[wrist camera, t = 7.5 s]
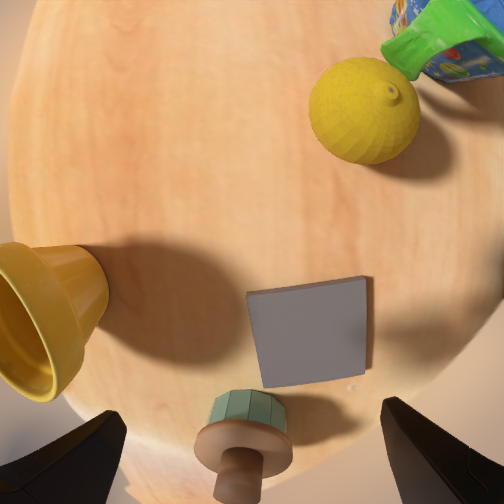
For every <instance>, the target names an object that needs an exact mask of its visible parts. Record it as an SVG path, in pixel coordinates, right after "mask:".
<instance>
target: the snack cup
mask: <svg viewBox="0 0 504 504" xmlns="http://www.w3.org/2000/svg"><path fill="white" fill-rule="evenodd" d="M390 24H391V26H392V31H393V34H394V36H395V37H394V38H392V39H391V40H388V41H386V42H385V43H382V45H381V49H380V51H381V52H382V54H383V56H384V58H385V59H386V61H387V62H388V63H389V64H391V65H392V66H393V67H395V68H396V69H398V70H399V71H400V72H401V73H402V74H403V75H404V76H405V77H406V78H407V79H408V80H409V81H416V80H417V79H418V77H419V75H420V73H421V71H422V70H423V71H424V72H425V73H427V74H429V75H430V76H432V77H434V78H436V79H440V80H443V81H445V82H446V83H456V82H463V81H470V80H476V79H481V78H491V77H498V76H504V0H396V2H395V4H394V6H393V9H392V15H391V18H390Z"/></svg>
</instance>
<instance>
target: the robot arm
mask: <svg viewBox="0 0 504 504" xmlns="http://www.w3.org/2000/svg"><path fill="white" fill-rule="evenodd" d="M380 420H381V426H382V430H383V435H384V440H385V444H386V450H387V455H388V459H389V462H390V466H391V468H392V472H393V475H394V477H395V481H396V484H397V487H398V490H399V493H400V496H401V499H402V503H403V504H504V466H502V465H500V464H498V463H496V462H494V461H492V460H490V459H488V458H486V457H485V456H483V455H481V454H480V453H478V452H477V451H475V450H474V449H472V448H469V446H467V445H466V444H464V443H463V442H461V441H459V440H458V439H457V438H455V437H454V436H452V435H451V434H449V433H448V432H447V431H445V430H444V429H442V428H441V427H439V426H438V425H436V424H435V423H433V422H432V421H430V420H429V419H428V418H426V417H425V416H423V415H422V414H421V413H419V412H417V411H416V410H415V409H413V408H412V407H411V406H409V405H408V404H406V403H405V402H404V401H402V400H401V399H399V398H398V397H396V396H394V397H390V398H386V399H384V400H383V403H382V409H381V415H380ZM126 433H127V427H126V425H125V423H124V422H123V420H122V418H121V416H120V415H119V413H118V412H116V411H112V410H106V411H105V412H103V413H101V414H100V415H98V416H96V417H95V418H93V419H91V420H90V421H88V422H86V423H85V424H83V425H81V426H79V427H78V428H76V429H74V430H72V431H71V432H69V433H68V434H65V435H64V436H62V437H60V438H58V439H57V440H55V441H53V442H51V443H49V444H47V445H46V446H44V447H42V448H40V449H39V450H37V451H34V452H33V453H31V454H29V455H27V456H24V457H22V458H20V459H18V460H15V461H13V462H10V463H8V464H5V465H2V466H0V504H106V501H107V498H108V495H109V492H110V489H111V486H112V483H113V480H114V477H115V474H116V471H117V468H118V465H119V462H120V458H121V454H122V450H123V445H124V441H125V437H126Z"/></svg>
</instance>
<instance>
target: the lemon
mask: <svg viewBox="0 0 504 504" xmlns="http://www.w3.org/2000/svg"><path fill="white" fill-rule="evenodd" d="M420 112H421V111H420V105H419V100H418V97H417V94H416V92H415V90H414V88H413V86H412V85H411V83H410V82H409V80H408V79H407V78H406V77H405V76H404V75H403V74H402V73H401V72H400V71H399V70H398V69H396V68H395V67H393V66H392V65H390V64H388V63H386V62H383V61H381V60H378V59H374V58H367V57H360V58H350V59H347V60H345V61H342V62H340V63H337V64H335V65H334V66H332V67H331V68H330V69H329V70H327V71H326V72H325V73H324V74H323V75H322V76H321V77H320V79H319V80H318V82H317V83H316V85H315V86H314V88H313V91H312V94H311V97H310V101H309V117H310V121H311V125H312V129H313V131H314V133H315V135H316V137H317V139H318V140H319V141H320V142H321V144H322V145H323V146H324V147H325V148H326V149H327V150H328V151H329V152H331V153H332V154H333V155H335V156H336V157H338V158H340V159H343V160H345V161H347V162H350V163H355V164H360V165H369V164H379V163H382V162H385V161H387V160H390V159H392V158H394V157H396V156H397V155H398V154H400V153H401V152H402V151H404V150H405V149H406V148H407V147H408V145H409V144H410V143H411V141H412V140H413V138H414V137H415V135H416V132H417V130H418V127H419V124H420Z"/></svg>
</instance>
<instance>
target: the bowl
mask: <svg viewBox="0 0 504 504" xmlns="http://www.w3.org/2000/svg"><path fill="white" fill-rule="evenodd" d="M232 419H242V420H251V421H257V422H261V423H264V424H268V425H270V426H273V427H275V428H277V429H279V430H280V431H282V432H283V433H284V434H286V414H285V408H284V406H283V405H282V404H281V403H280V402H278V401H277V400H276V399H275V398H274V397H273V396H272V395H268V394H265V393H262V392H258V391H255V390H234V391H229V392H227V393H225V394H224V395H222V396H220V397H218V398H216V399H215V401H214V403H213V406H212V408H211V410H210V413H209V417H208V420H207V423H206V426H207V425H209V424H211V423H214V422H218V421H222V420H232Z"/></svg>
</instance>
